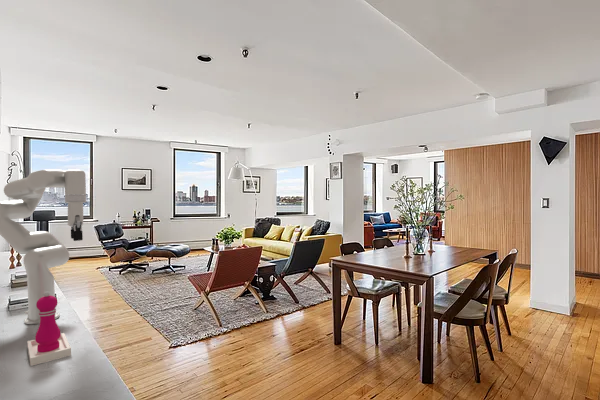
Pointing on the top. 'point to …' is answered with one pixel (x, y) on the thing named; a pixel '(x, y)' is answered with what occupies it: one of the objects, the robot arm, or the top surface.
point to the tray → (43, 357)
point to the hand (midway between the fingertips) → (76, 239)
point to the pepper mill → (47, 324)
